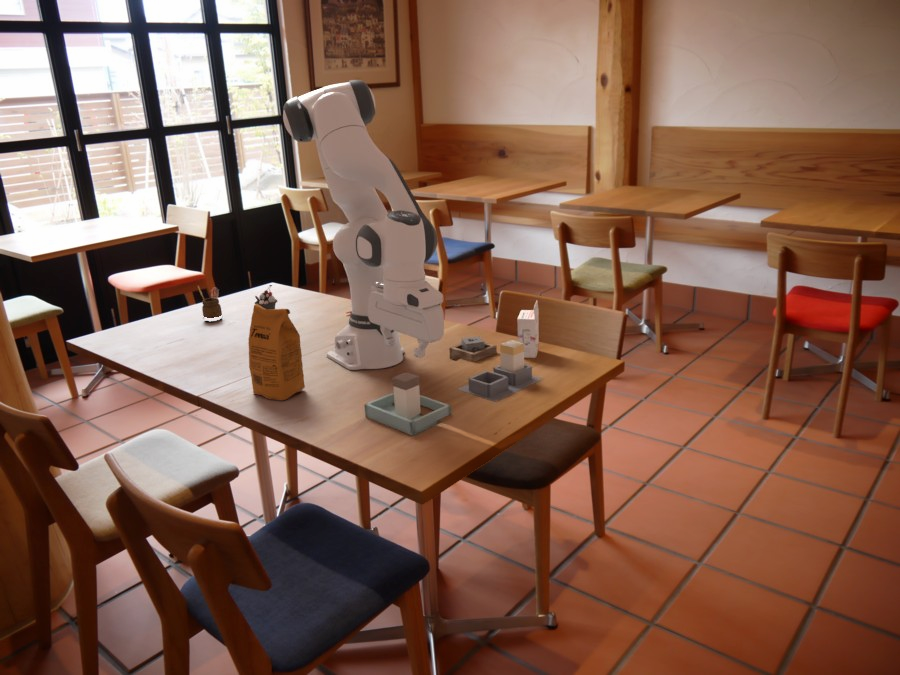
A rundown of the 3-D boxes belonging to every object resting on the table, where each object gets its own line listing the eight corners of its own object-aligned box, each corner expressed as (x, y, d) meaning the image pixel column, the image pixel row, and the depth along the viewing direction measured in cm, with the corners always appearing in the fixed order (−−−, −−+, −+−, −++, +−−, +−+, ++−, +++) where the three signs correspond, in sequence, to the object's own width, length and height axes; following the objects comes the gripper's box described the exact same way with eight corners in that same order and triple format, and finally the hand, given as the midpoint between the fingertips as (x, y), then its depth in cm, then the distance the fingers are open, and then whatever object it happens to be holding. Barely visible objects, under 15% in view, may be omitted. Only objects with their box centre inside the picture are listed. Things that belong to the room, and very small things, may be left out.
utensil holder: (222, 321, 244) (217, 286, 240) (202, 323, 242) (196, 288, 239) (223, 316, 249) (218, 282, 245) (203, 318, 248) (198, 283, 244)
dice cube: (462, 355, 203) (461, 338, 201) (479, 353, 204) (479, 336, 202) (466, 361, 198) (466, 343, 196) (484, 359, 199) (484, 341, 198)
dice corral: (449, 358, 201) (449, 347, 200) (472, 349, 207) (471, 339, 206) (474, 365, 195) (474, 354, 194) (496, 356, 201) (496, 345, 200)
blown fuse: (395, 415, 165) (392, 377, 162) (408, 409, 168) (406, 372, 165) (407, 420, 162) (405, 381, 160) (421, 414, 165) (418, 376, 162)
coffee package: (276, 381, 190) (266, 298, 183) (311, 390, 183) (302, 304, 176) (246, 394, 182) (234, 308, 175) (281, 404, 175) (270, 315, 168)
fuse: (500, 379, 182) (500, 344, 179) (511, 374, 185) (511, 340, 182) (513, 382, 179) (513, 347, 177) (524, 377, 182) (524, 343, 179)
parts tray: (365, 416, 167) (364, 404, 166) (403, 400, 174) (402, 388, 173) (412, 435, 156) (412, 422, 155) (451, 417, 164) (450, 405, 163)
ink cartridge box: (521, 350, 205) (520, 298, 200) (539, 350, 204) (538, 299, 199) (517, 360, 197) (516, 307, 192) (536, 361, 196) (535, 307, 191)
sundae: (285, 331, 231) (280, 284, 226) (270, 337, 225) (264, 289, 221) (270, 328, 234) (264, 282, 229) (254, 334, 229) (248, 287, 224)
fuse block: (457, 393, 177) (456, 377, 176) (505, 371, 189) (505, 356, 188) (495, 405, 169) (495, 389, 168) (543, 382, 181) (543, 367, 180)
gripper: (360, 282, 161) (361, 342, 166) (427, 303, 148) (427, 367, 153) (382, 277, 165) (382, 335, 170) (449, 296, 152) (448, 359, 157)
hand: (404, 351), depth 161 cm, fingers open, 8 cm apart
